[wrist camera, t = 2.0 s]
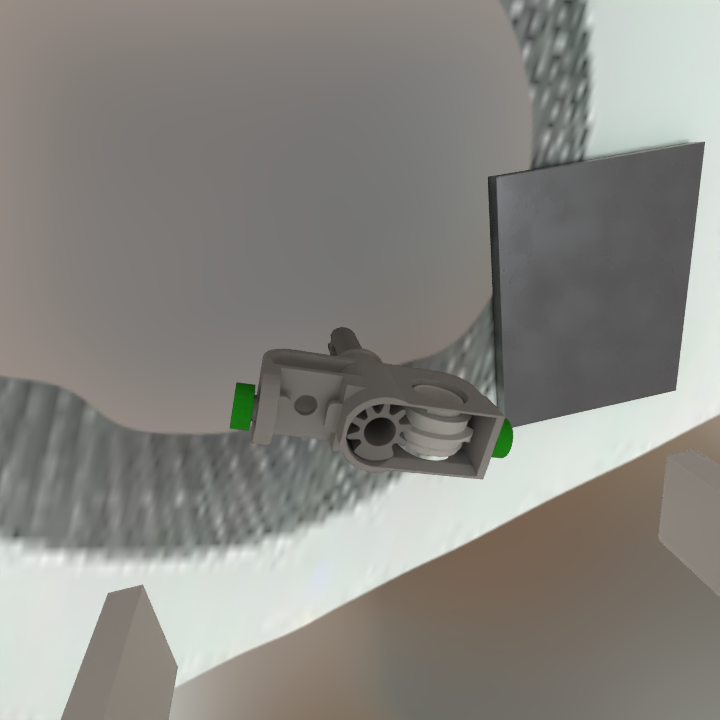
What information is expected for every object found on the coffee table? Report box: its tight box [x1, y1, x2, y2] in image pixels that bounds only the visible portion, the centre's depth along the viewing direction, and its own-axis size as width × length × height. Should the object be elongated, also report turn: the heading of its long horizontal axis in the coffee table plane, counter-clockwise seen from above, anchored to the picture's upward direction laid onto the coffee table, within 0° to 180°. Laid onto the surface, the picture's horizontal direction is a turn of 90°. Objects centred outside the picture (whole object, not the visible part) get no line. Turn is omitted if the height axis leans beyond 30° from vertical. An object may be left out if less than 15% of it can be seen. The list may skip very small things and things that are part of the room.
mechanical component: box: [230, 327, 513, 479], centre depth 22 cm, size 3×10×10 cm, turn 77°
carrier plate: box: [488, 142, 705, 428], centre depth 27 cm, size 14×11×1 cm
